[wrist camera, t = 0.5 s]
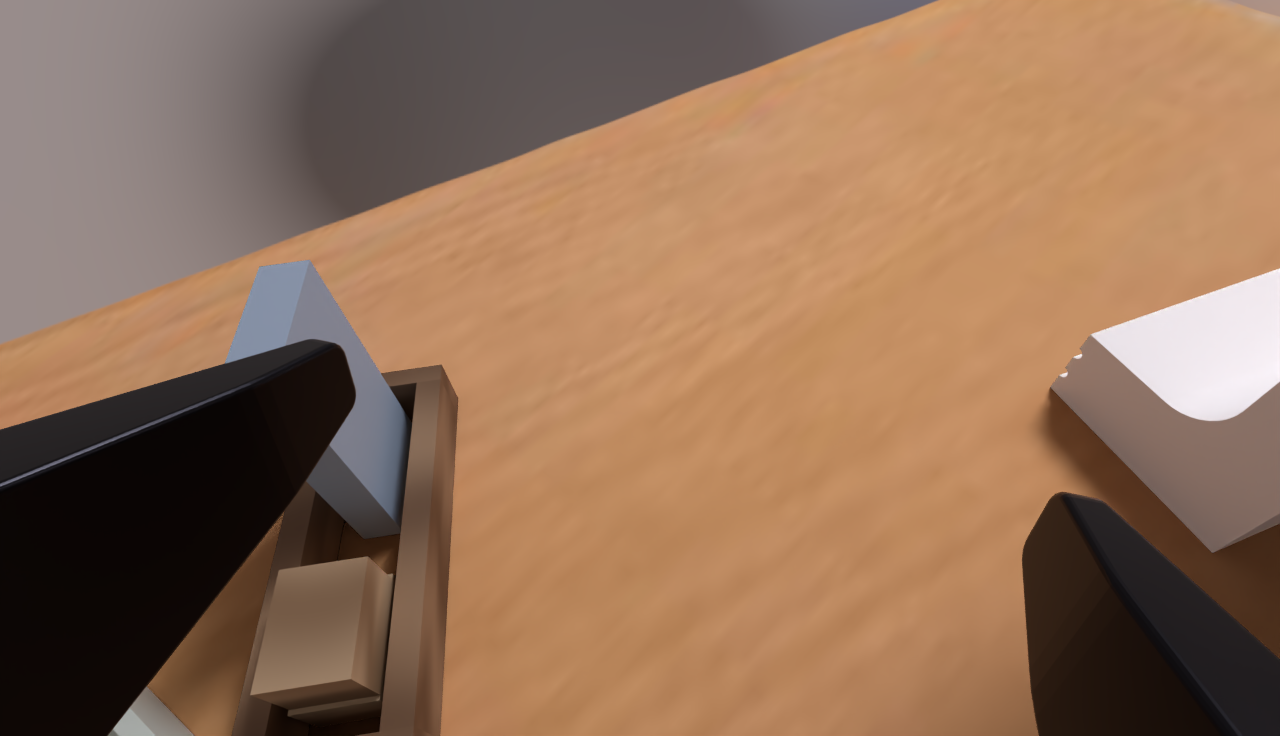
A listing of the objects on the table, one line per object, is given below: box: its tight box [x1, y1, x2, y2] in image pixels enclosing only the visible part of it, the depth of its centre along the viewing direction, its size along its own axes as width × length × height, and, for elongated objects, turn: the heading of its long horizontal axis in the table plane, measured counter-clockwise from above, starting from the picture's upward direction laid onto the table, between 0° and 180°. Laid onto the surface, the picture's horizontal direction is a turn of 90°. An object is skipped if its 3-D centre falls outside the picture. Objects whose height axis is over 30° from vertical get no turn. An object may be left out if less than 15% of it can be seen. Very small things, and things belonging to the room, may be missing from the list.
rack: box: [232, 365, 458, 736], centre depth 23 cm, size 15×5×2 cm, turn 8°
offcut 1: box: [250, 556, 393, 710], centre depth 19 cm, size 4×3×2 cm
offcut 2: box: [288, 574, 396, 727], centre depth 21 cm, size 4×3×2 cm
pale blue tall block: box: [225, 260, 412, 539], centre depth 22 cm, size 5×2×10 cm, turn 8°
